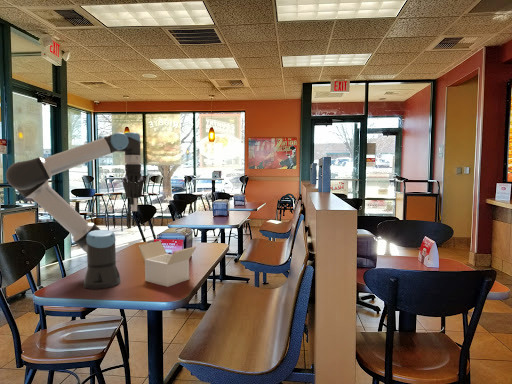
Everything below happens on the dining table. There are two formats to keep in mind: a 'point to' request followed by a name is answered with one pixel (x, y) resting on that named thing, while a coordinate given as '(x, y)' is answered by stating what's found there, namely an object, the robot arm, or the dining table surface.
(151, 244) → the far flap
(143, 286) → the dining table surface
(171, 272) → the carton
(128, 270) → the dining table surface
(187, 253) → the near flap
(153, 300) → the dining table surface
